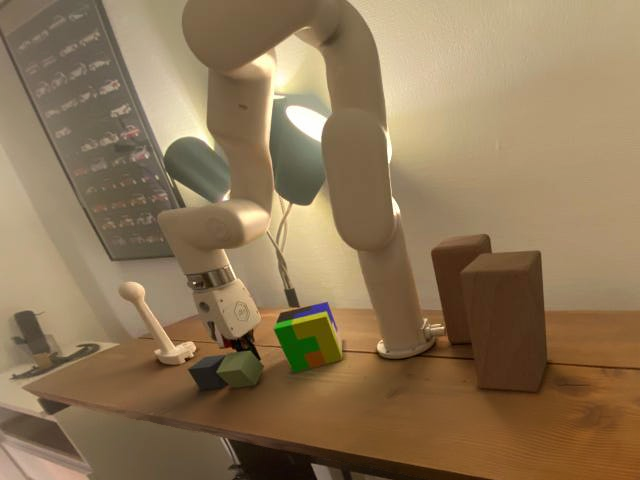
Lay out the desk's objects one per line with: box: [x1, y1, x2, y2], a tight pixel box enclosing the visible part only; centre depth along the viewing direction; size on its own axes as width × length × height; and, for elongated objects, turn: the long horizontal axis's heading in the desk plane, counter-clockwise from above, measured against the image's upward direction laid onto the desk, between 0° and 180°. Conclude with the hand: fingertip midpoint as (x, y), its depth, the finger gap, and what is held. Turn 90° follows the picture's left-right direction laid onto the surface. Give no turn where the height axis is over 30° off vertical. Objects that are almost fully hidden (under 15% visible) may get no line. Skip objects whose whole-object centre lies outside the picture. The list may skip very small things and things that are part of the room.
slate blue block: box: [187, 354, 228, 391], centre depth 77 cm, size 5×5×5 cm
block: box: [430, 233, 493, 345], centre depth 76 cm, size 10×10×20 cm
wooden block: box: [460, 249, 549, 393], centre depth 60 cm, size 10×10×20 cm
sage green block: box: [216, 351, 265, 389], centre depth 75 cm, size 5×5×5 cm
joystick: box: [118, 281, 197, 366], centre depth 90 cm, size 11×8×20 cm
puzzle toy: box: [273, 301, 343, 374], centre depth 80 cm, size 10×10×10 cm
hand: (252, 362), depth 79 cm, fingers closed
